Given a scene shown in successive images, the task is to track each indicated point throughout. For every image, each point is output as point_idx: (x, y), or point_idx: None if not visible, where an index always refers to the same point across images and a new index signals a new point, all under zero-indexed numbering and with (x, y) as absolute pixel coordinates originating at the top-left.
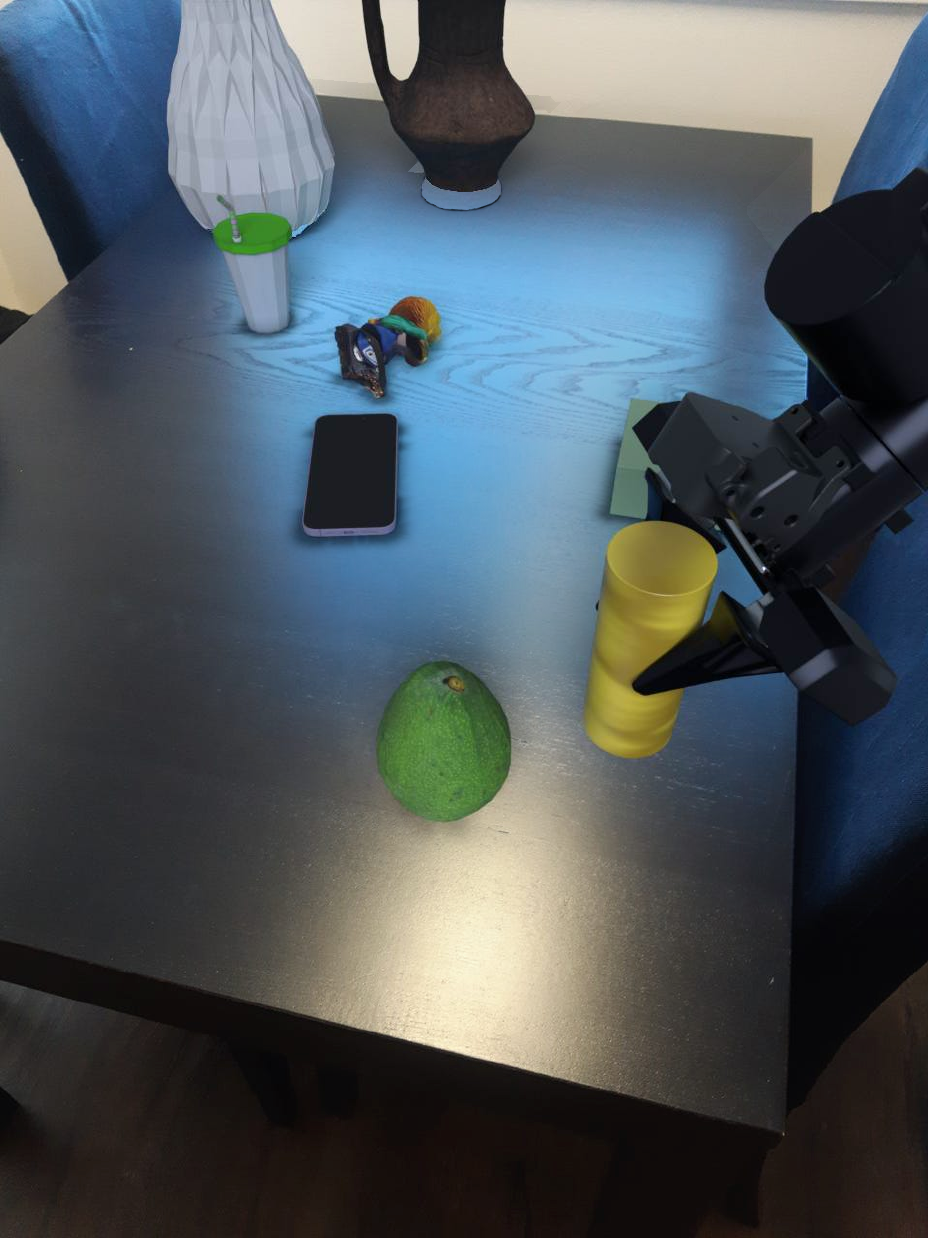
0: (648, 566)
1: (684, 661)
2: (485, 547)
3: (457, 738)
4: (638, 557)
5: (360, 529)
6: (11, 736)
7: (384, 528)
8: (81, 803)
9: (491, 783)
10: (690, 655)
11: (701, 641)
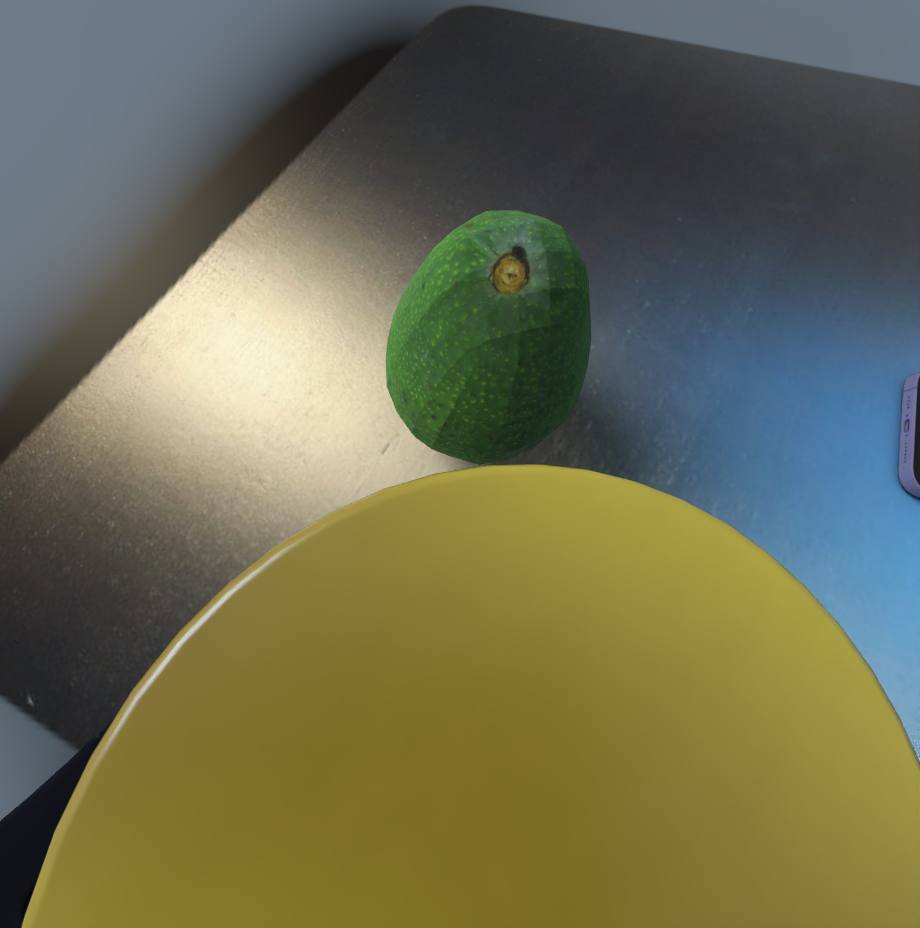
0: (479, 754)
1: (103, 735)
2: (856, 611)
3: (422, 282)
4: (596, 716)
5: (911, 440)
6: (667, 39)
7: (910, 472)
8: (571, 73)
9: (396, 393)
10: (70, 772)
11: (27, 871)
